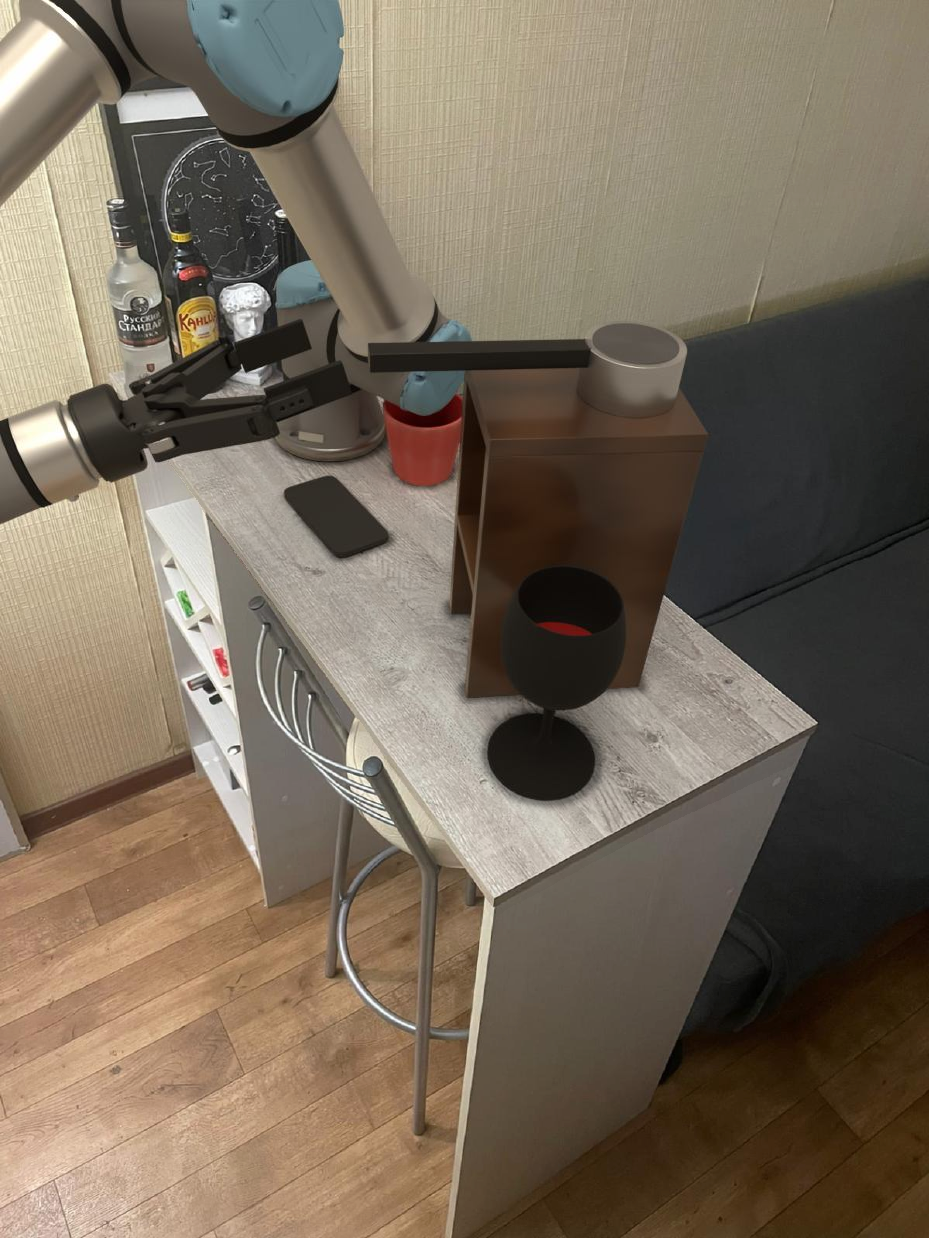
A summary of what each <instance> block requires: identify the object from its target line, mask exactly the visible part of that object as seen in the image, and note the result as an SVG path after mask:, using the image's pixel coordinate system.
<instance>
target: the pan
mask: <svg viewBox="0 0 929 1238" xmlns="http://www.w3.org/2000/svg"><path fill="white" fill-rule="evenodd" d="M583 337H584V338H567V339H566V338H565V339H563V338H562V339H516V340H515V339H513V340H512V339H511V340H510V339H509V340H507V339H506V340H472V341H448V342H394V343H368V364H369V369H370V373H384V372H426V371H469V370H512V369H555V368H580V369H579V375H578V381H577V391H578V394H579V395H580V397H581V398H582V399H583V400H584V401H585V402H586V403H587V404H589V405H590V406H592V407H594V408H596V409H598V410H600V411H603V412H606V413H609V414H612V415H616V416H622V417H630V418H645V417H653V416H657V415H660V414H663V413H665V412H667V411H668V410H670V409H671V408H672V407H673V405H674V404H675V400H676V396H677V392H678V388H679V389H680V384H681V380H682V375H683V372H684V371H683V370H684V367H685V363H686V359H687V355H688V348H687V345H686V343H685V342H684V341H683V339H682V338H681V337H679V336H678V335H677V334H675V333H673V332H672V331H669V330H667V329H665V328H663V327H661V326H657V325H654V324H651V323H646V322H642V321H632V320H613V321H607V322H602V323H599V324H596V325H594V326H592V327H591V328H589V329H588V330H587V331H586V332H585V334H584V336H583Z"/></svg>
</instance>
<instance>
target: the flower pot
mask: <svg viewBox="0 0 929 1238" xmlns="http://www.w3.org/2000/svg"><path fill="white" fill-rule="evenodd" d="M462 402H463V396H461V395H460V394H458V392H457V393H456V394H455V395H454V397H453V398H452V399H451V401H450V402H449V403H448V404H447V405H446V406H445V407H443V408H442V409H441V410H439V411H438V412H436V413H432V414H431V415H427V416H422V415H418V414H416V413H413V412H411V411H404V410H402V409H401V408H400V407H399V406H397V405H395V404H393V403H391V402H389V401H386V400H384V399H383V402H382V412H383V415H384V421H385V434H386V438H387V443H388V448H389V454H390V458H391V463H392V467H393V471H394V473H395V475H396V476H397V478H399V479H401V480H402V481H403V482H405V483H407V484H410V485H413V486H419V487H420V486H421V487H429V486H430V487H431V486H434V485H438V484H441V483H443V482H445V481H446V480H447V479H449V477H450V476H451V474H452V472H453V468H454V465H455V462H456V458H457V454H458V452H459V448H460V432H461V417H462Z"/></svg>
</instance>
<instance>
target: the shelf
mask: <svg viewBox="0 0 929 1238" xmlns="http://www.w3.org/2000/svg"><path fill="white" fill-rule="evenodd" d="M579 369H580V368H555V369H512V370H469V371H464V372H465V373H464V380H463V385H462V386H463V389H462V398H463V402H462V417H461V432H460V444H459V447H458V464H457V466H458V467H457V479H456V480H457V481H456V494H455V495H456V496H455V498H456V499H455V512H454V526H453V543H452V557H451V570H450V571H451V573H450V588H449V601H448V606H449V612H450V614H451V615H461V614H462V615H463V614H470V623H469V637H468V645H467V647H468V648H467V659H466V670H465V683H464V689H465V690H464V691H465V695H466V698H467V699H469V698H484V697H499V696H515V695H517V696H518V695H521V694H520V693H519V692H518V691H517V690H516V689H515V687H514V686H513V685H512V684H511V682H510V680H509V678H508V677H507V675H506V673H505V670H504V667H503V663H502V659H501V651H500V637H501V629H502V624H503V620H504V617H505V614H506V611H507V608H508V606H509V603H510V601H511V599H512V597H513V595H514V593H515V591H516V589H517V588H518V586H519V584H520V583H521V581H522V580H523V579H524V578H525V577H526V576H527V575H529V574H530V573H532V572H534V571H536V570H538V569H541V568H544V567H549V566H558V565H567V566H576V567H580V568H585V569H588V570H591V571H593V572H595V573H598V574H600V575H601V576H603V577H605V578H606V579H607V580H609V581H610V582H611V583H612V584H613V585H614V586H615V587H616V588H617V589H618V591H619V592H620V594H621V596H622V599H623V603H624V609H625V616H626V645H625V651H624V656H623V660H622V663H621V666H620V668H619V671H618V673H617V675H616V677H615V678H614V680H613V682H612V683H611V684H610V686H609V687H608V688H607V690H610V689H624V688H627V689H628V688H638V687H639V686H640V683H641V679H642V675H643V672H644V669H645V666H646V665H645V664H646V661H647V657H648V654H649V650H650V646H651V643H652V639H653V635H654V633H655V628H656V625H657V621H658V617H659V615H660V610H661V606H662V603H663V600H664V597H665V593H666V589H667V586H668V581H669V578H670V574H671V571H672V567H673V563H674V559H675V556H676V552H677V549H678V545H679V541H680V538H681V534H682V531H683V527H684V523H685V520H686V517H687V513H688V510H689V506H690V502H691V498H692V495H693V491H694V487H695V484H696V480H697V478H698V477H697V476H698V473H699V470H700V466H701V462H702V459H703V455H704V451H705V448H706V445H707V442H708V438H709V433H708V432H707V430H706V428H705V427H704V425H703V424H702V422H701V420H700V418H699V417H698V416H697V414H696V412H695V411H694V409H693V408H692V406H691V405H690V403H689V401H688V400H687V398H686V396H685V395H684V393H683V392H682V390H681V389H680V387H679V388H678V392H677V396H676V400H675V404H674V405H673V407H672V408H671V409H670V410H668V411H667V412H665V413H663V414H660V415H657V416H653V417H645V418H630V417H622V416H616V415H612V414H609V413H606V412H603V411H600V410H598V409H596V408H594V407H592V406H590V405H589V404H587V403H586V402H585V401H584V400H583V399H582V398H581V397H580V395H579V394H578V391H577V381H578V375H579Z"/></svg>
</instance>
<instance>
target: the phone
mask: <svg viewBox="0 0 929 1238" xmlns="http://www.w3.org/2000/svg"><path fill="white" fill-rule="evenodd" d="M283 497H284V499H285V501H286V502H288V503H289V504H290V506H291V507H292V508H293V509H294V511H295V512H296V513H297V514H298V515H299V516H300V517H301V518H302V520H303V521H304V522H305V523H306V524H307V526H308V527H309V528H310V529H311V530H312V532H314V534H315V535H316V536H317V537H318V538H319V539H320V541H321V542H322V543H323V544H324V545H325V546H326V547H327V548H328V550H329V551H330V552H331V553H332V554H333V555H334V556H336V557H339V558H345V557H349V556H352V555H355V554H358V553H361V552H363V551H366V550H369V549H372V548H374V547H378V546H380V545H383V544H385V543H386V542H388V541H389V532H388V530H387V529H386V528H385V527H384V526H383V525H382V524H381V523H380V522H379V521H378V519H377V518H376V517H375V516H374V515H372V514H371V512H370V511H369V510H368V509H367V508H366V507H365V506H364V505H363V504H362V503H361V502H360V501H359V500H358V498H356V496H355V495H353V493H352V492H350V490H348V488H347V487H346V486H345V485H344V484H343V483H342V482H341V481H340V480H339V479H338V478H337V477H335V476H333V475H324V476H323V475H322V476H320V477H316V478H313V479H311V480H306V481H304V482H300V483H297V484H293V485H291V486H288V487H286V488H285V489H284V490H283Z"/></svg>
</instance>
